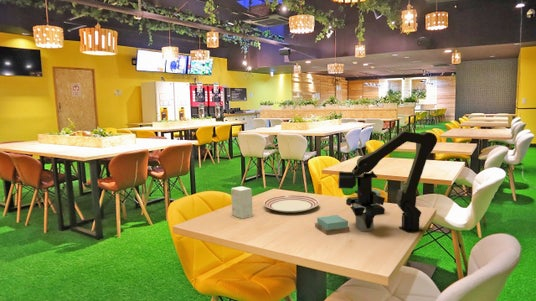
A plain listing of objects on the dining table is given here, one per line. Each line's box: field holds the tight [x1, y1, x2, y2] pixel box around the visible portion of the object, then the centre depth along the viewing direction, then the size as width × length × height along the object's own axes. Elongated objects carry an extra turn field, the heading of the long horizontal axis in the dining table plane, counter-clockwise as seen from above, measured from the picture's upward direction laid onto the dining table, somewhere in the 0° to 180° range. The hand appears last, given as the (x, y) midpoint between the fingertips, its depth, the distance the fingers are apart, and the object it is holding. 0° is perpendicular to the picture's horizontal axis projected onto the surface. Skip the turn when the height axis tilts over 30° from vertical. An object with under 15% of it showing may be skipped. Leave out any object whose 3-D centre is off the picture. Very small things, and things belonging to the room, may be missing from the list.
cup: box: [364, 189, 382, 212], centre depth 175 cm, size 8×8×10 cm
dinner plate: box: [263, 194, 320, 214], centre depth 188 cm, size 27×27×3 cm
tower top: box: [316, 214, 349, 230], centre depth 153 cm, size 9×9×2 cm
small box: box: [230, 185, 254, 219], centre depth 175 cm, size 8×6×13 cm
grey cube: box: [355, 215, 374, 232], centre depth 153 cm, size 5×5×5 cm
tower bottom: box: [314, 222, 350, 236], centre depth 154 cm, size 10×10×2 cm
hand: (364, 226), depth 153 cm, fingers closed on grey cube, 5 cm apart
